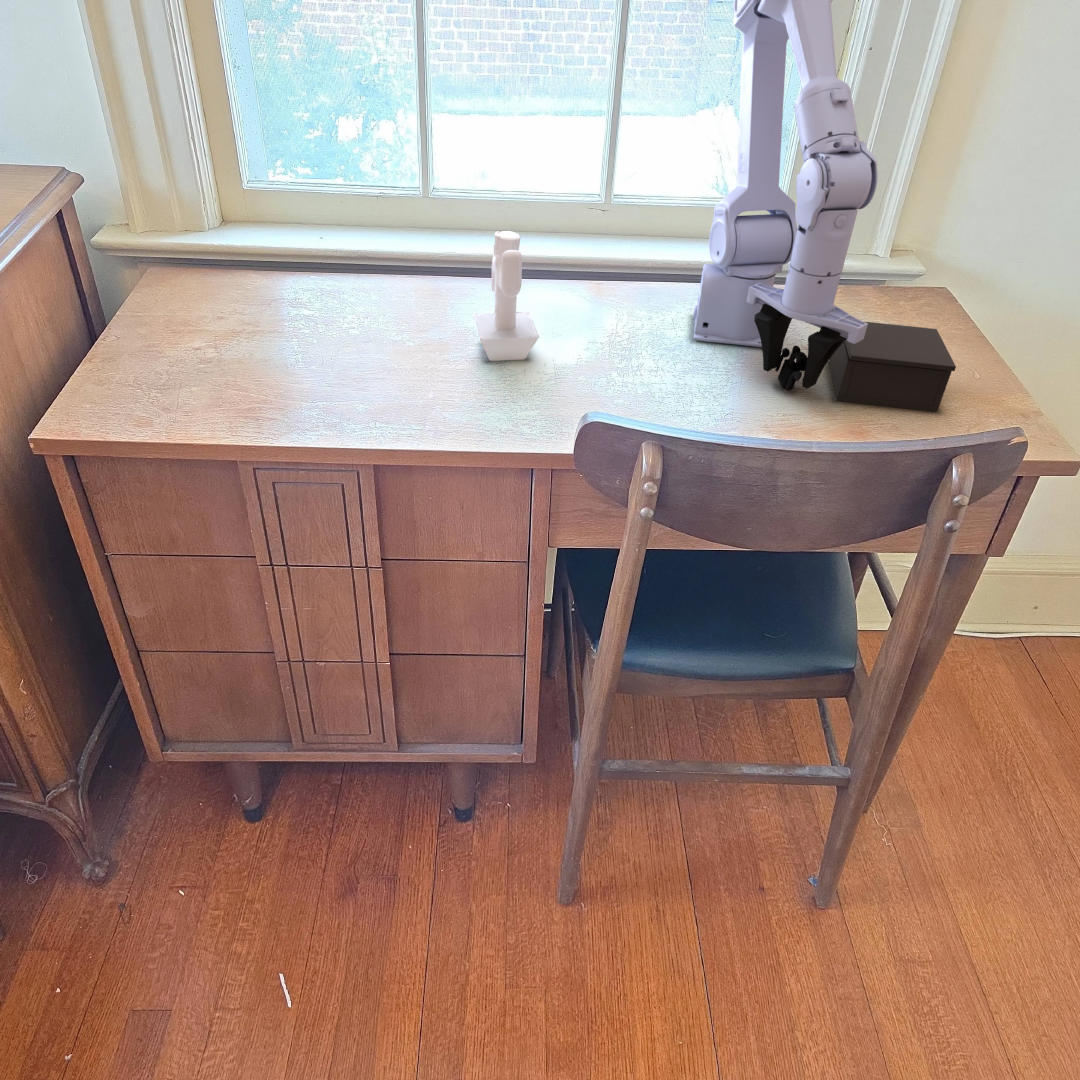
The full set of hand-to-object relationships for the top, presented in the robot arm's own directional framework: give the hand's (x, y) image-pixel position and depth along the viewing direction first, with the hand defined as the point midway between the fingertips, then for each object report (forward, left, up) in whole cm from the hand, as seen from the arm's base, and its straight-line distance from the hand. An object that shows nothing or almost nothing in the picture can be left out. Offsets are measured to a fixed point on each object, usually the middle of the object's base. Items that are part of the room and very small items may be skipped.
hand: (789, 376), depth 107 cm
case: (+12, +3, -1) cm, 12 cm away
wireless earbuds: (0, 0, -2) cm, 2 cm away
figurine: (-35, +1, -2) cm, 35 cm away
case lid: (+12, +3, +4) cm, 12 cm away
